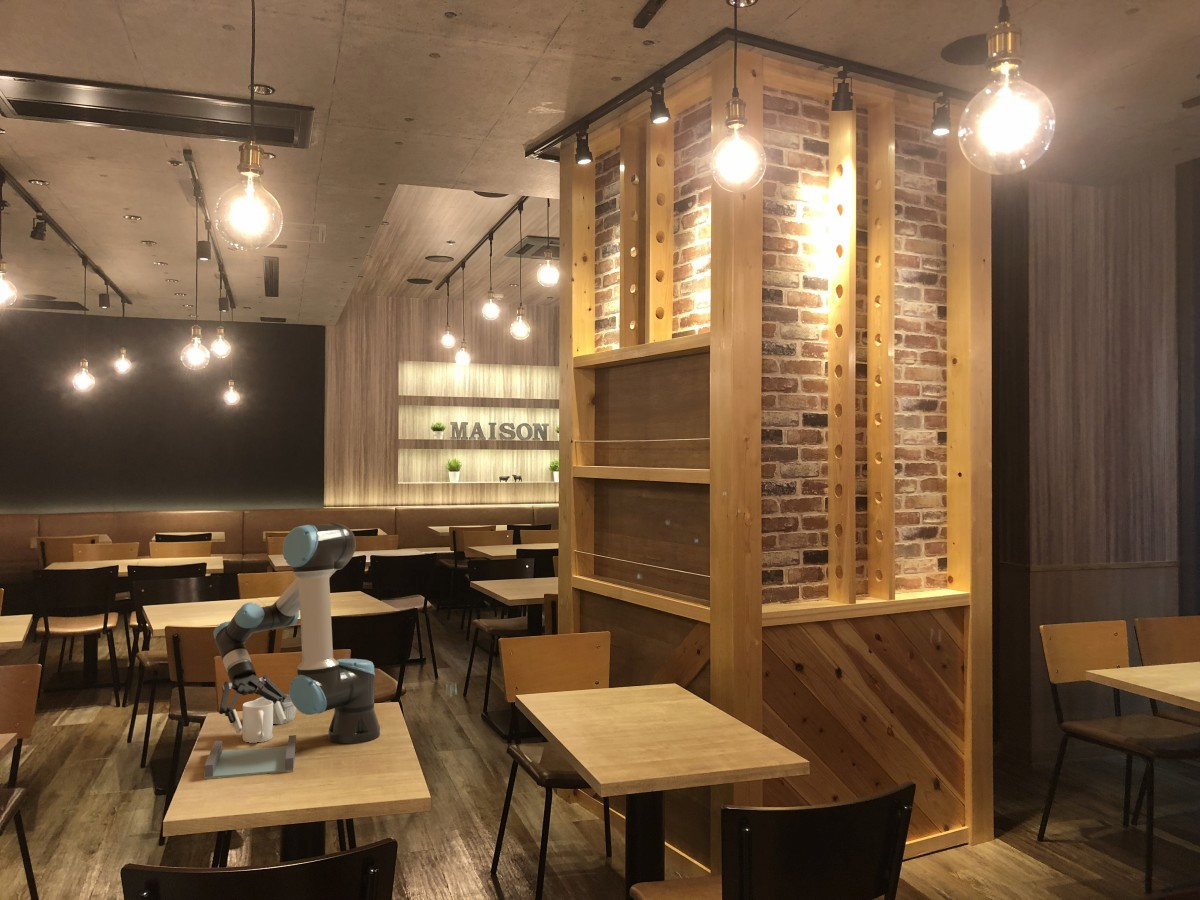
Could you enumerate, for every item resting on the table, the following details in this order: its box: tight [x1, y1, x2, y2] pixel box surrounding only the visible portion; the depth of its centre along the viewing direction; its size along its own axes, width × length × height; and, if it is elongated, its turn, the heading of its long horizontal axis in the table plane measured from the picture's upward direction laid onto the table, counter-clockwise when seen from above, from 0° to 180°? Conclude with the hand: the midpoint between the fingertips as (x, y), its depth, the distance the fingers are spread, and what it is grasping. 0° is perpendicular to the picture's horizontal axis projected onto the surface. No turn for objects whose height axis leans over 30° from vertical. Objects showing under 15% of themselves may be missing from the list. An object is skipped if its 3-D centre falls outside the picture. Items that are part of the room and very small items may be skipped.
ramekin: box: [255, 693, 297, 725], centre depth 298 cm, size 13×13×7 cm
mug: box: [241, 699, 274, 744], centre depth 276 cm, size 9×12×11 cm
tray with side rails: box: [204, 734, 297, 780], centre depth 256 cm, size 22×22×4 cm
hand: (262, 726), depth 275 cm, fingers open, 13 cm apart
